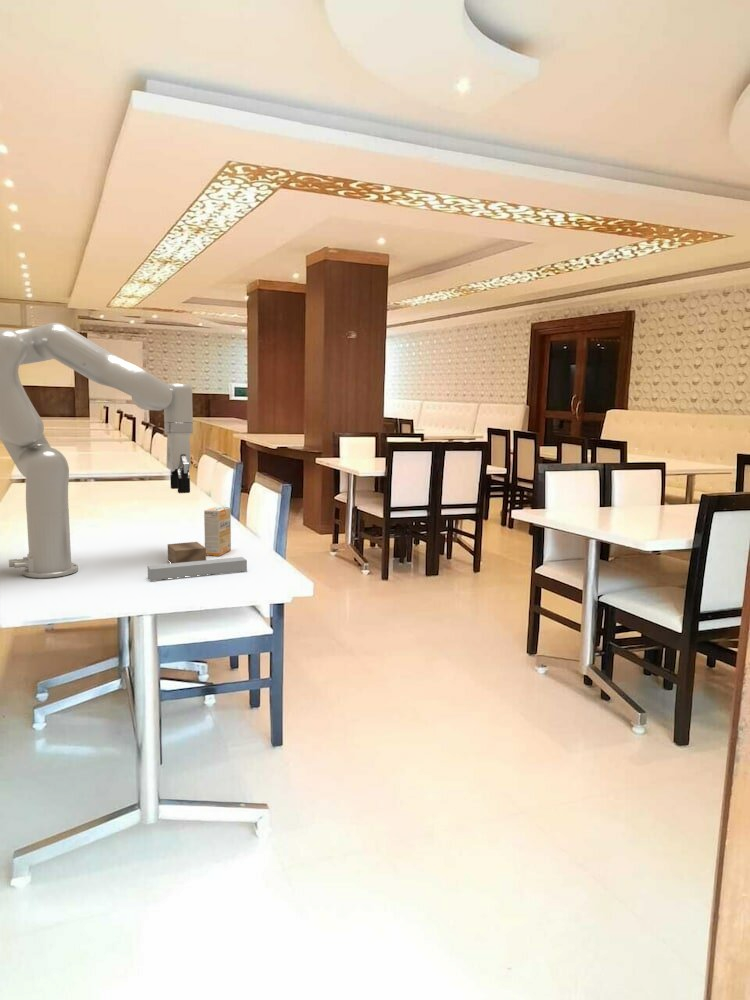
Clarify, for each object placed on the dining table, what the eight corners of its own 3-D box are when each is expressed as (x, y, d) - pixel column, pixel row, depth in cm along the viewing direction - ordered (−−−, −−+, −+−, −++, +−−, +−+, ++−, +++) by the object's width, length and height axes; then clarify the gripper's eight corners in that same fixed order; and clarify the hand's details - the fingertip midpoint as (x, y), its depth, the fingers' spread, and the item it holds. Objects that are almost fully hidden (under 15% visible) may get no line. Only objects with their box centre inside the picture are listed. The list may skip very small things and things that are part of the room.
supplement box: (220, 556, 193) (219, 510, 192) (204, 555, 194) (203, 510, 193) (231, 550, 201) (231, 506, 200) (216, 549, 202) (215, 505, 201)
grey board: (150, 581, 166) (150, 569, 166) (147, 577, 170) (147, 565, 169) (246, 571, 177) (246, 560, 177) (242, 568, 181) (242, 556, 180)
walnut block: (175, 569, 179) (175, 550, 178) (168, 562, 187) (167, 544, 186) (206, 566, 183) (205, 548, 182) (197, 559, 191) (196, 541, 190)
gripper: (158, 427, 194) (160, 487, 197) (170, 430, 179) (172, 495, 181) (185, 427, 198) (187, 486, 200) (199, 430, 182) (201, 494, 185)
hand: (180, 490), depth 191 cm, fingers open, 9 cm apart
